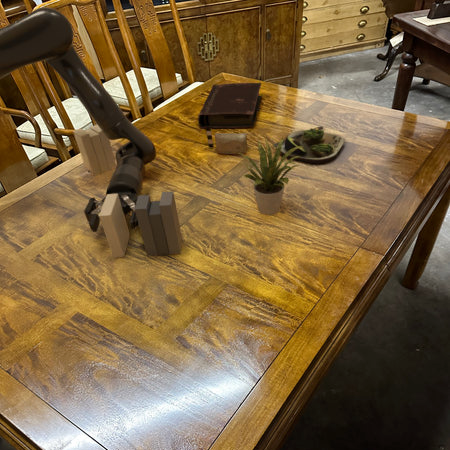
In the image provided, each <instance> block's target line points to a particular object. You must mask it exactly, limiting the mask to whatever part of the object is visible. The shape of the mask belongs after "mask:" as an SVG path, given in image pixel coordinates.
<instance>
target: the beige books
mask: <svg viewBox="0 0 450 450" xmlns="http://www.w3.org/2000/svg"><path fill="white" fill-rule="evenodd" d="M72 132H73V136H74V138H75V142H76V144H77V148H78V150H79V153H80V156H81V159H82V162H83V165H84V167H85V168H86V169H87V173H89V174H90V173H91V174H90V175H91V176H92V177H96V176H99V175H101V174H103V173H105V172H109V171H111V170H113V169H116V167H117V161H116V157H115V155H114V151H113V148H112V144H111V142H110V141H111V140H110V139H108V138H107V137H106V135H105V134H104V133H103V131H102V130H101V129H100V127H99V126H98V125H97V124H96V125H92V126H90V128H88V129H86V130H84V129H83V128H78V129H75V130H72ZM110 169H111V170H110ZM100 173H101V174H100ZM98 174H99V175H98Z"/></svg>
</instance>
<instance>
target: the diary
mask: <svg viewBox="0 0 450 450" xmlns="http://www.w3.org/2000/svg"><path fill="white" fill-rule="evenodd" d="M261 86H262V82H236V83H235V82H234V83H223V84H213V85H212V87H211V89H210V91H209V92H208V95H207V96H206V98H205V100H204V103H203V105H202V108H201V110H200V111H199V113H198V116H197V122H198V123H197V124H198V126H199V128H200V129H206V128H205V126H210V127H211V129H242V128H253V127H255V123H256V120H257V115H258V112H260V106H261V100H262V95H259V94H260V90H261Z"/></svg>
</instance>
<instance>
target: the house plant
mask: <svg viewBox="0 0 450 450" xmlns="http://www.w3.org/2000/svg"><path fill="white" fill-rule="evenodd" d="M283 140H284V137H282V138H281V139H280V141H278V142H279V144H278V146H277V148H276V149H275V152H274V155H273V153H272V149H271V146H270V144H269V143H268V141H267V140H266V139H264V142H265V145H266V147H267V149H266V147H265V146H262V145H263V144H261V142H260V141H259V140H257V142H256V143H257V148H258V153H259V161H260V164H259V166H260V167H258V165H257V164H256V163H255V162H254V161H253V160H252V158H251V157H249V156H247V155H246V154H245V153H238V154H237V155H241V156H242V157H244V158H245V159H246V160H247V161H248V162H249V163H250V165H251V166H252V167H253V168H254V169H255V170H256V171H257V173H256V171H255V170H254V169H252V168H251V167H250V166H248V165H246V168H247V169H248V171H249V172H250V173H251V174H250V173H245V174H243V175H242V177H245V178H248V179H250V180H252V181H254V182H253V183H254V184H253V191H254V196H255V201H256V206H257V211H258V212H259V214H261V215H264V216H274V215H277V214H278V213H280V211H281V206H282V202H283V201H282V200H283V196H284V191H285V190H286V189H285V184H286V185H288V183H289V181H290V179H289V177H287V176H286V175H287V174H288V173H289V172H290V171H291V170H293V169H294V168H296V167H299V166H300V164H297V163H295V161H293V159H295V158H297V157H301V156H296V157H293V158H291V159H290V160H289V159H288V161H286V162H285V160H286V159H287V158H286V157H287V156H288V155H289V154H291V153H292V152H293V151H294V150H296V149H298V148H301V147H303V146H299V147H295V148H293V149H291V150H289V151H288V152H287V153H286V154H285V155H284V156H283V155H282V157H281V158H280V156H281V149H282V142H283ZM279 158H280V161H279ZM278 161H279V162H278ZM283 163H284V164H283ZM288 164H292V166H289V165H288ZM258 174H259V175H258Z"/></svg>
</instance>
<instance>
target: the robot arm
mask: <svg viewBox="0 0 450 450" xmlns="http://www.w3.org/2000/svg"><path fill="white" fill-rule="evenodd" d="M73 43H74V30H73V26H72V24H71V22H70V20H69V19H68V18H67V16H65V15H64V14H63V13H62V12H61V11H59V10H57V9H54V8H53V7H47V6H42V7H38V8H36V9H34V10H32V11H31V12H30V13H28V14H26V15H24V16H23V17H21V18H20V19H17V20H16V21H14V22H12V23H9V24H8V25H5V26H4V27H1V28H0V80H2V79H3V78H5V77H6V76H8V75H11V73H13V72H15V71H17V70H19V69H21V68H24V67H27V66H30V65H32V64H33V65H34V64H36V63H40V62H44V61H45V62H46V63H47V64H48V65H49V66H50V67H51V68H52V69H53V70H54V71H55V73H56V74H58V75H59V76H60V77H61V79H62V80H63V81H64V82H65V84H66V85H67V86H68V87H69V89H70V90H71V91H72V92H73V93H74V95H75V96H76V98H77V99H78V101H79V102H80V103H81V104H82V106H83V107H84V109H85V110H86V112H87V113H88V115H90V117H91V118H92V120H93V121H94V122H95V124H96V125H98V126H99V127H100V129H101V130H102V131H103V133H104V134H105V135H106V137H107V138H108V139H109V141H117V140H120V139H124V140H128V142H126V143H124V144H122V145H121V146H119V147H118V149H117V150H116V151H115V162H116V165H117V167H115V170H114V171H113V173H112V175H111V177H110V180H109V183H108V185H107V188H106V191H105V196H104V197H103V198H102V199H100V200H96V199H97V198H96V197H91V198H89V200H88V201H87V204H86V206H85V209H84V210H83V213H84V215H85V218H86V221H87V222H88V225H89V228H90V230H91V231H92V233H97V232H98V230H99V227H100V223H101V220H100V217H99V214H100V212H101V209H102V206H103V204H104V201H105V198H106V195H107V194H118V196H119V199H120V203H121V206H122V209H123V213H124V215H127V214H128V215H129V216H130V218H129V225H130V229H131V230H132V231H134V230H136V228H138V227H139V224H138V220H137V217H136V213H135V206H136V202H137V199H138V196H140V195H142V191H143V188H144V187H143V185H144V179H145V175H146V165H149V164H150V163H152V162H153V161H155V159H156V158H157V149H156V146H155V144H154V142H153V141H152V140H151V138H149V137H148V136H147V134H145V133H144V132H143V131H142V130H140V129H139V128H137V126H136V125H134V124H133V123H132V122H131V121H130V120H129V119H128V117H127V116H126V115H125V113H124V112H123V110H122V109H121V107H120V106H119V105H118V103H117V101H116V100H115V99H114V98H113V96H112V95H111V94H110V93H109V92H108V91H107V89H106V88H105V87H104V86H103V85H102V83H100V81H99V80H98V79H97V78H96V77H95V75H93V73H91V71H90V70H89V69H88V66H86V65H85V63H84V61H83V60H82V59H81V57H80V56H79V54H78V52H77V50H76V48H75V46H74V45H73ZM144 195H150V194H149V193H145V194H144Z"/></svg>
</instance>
